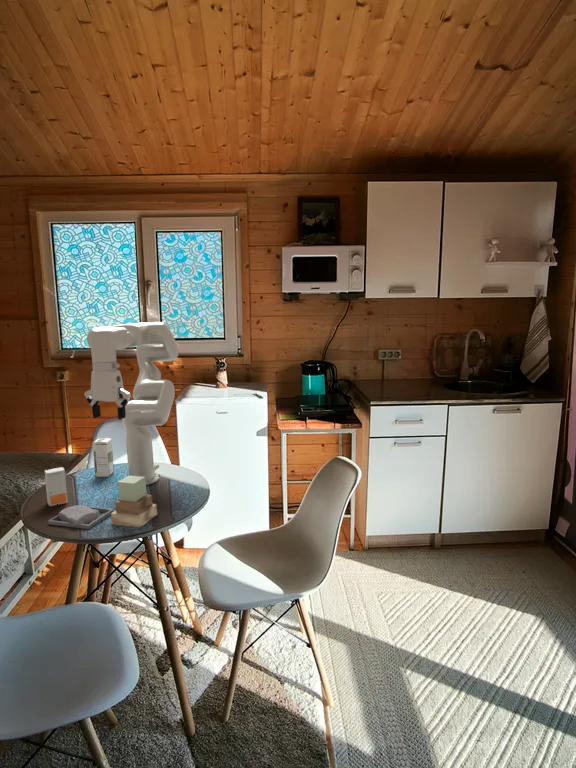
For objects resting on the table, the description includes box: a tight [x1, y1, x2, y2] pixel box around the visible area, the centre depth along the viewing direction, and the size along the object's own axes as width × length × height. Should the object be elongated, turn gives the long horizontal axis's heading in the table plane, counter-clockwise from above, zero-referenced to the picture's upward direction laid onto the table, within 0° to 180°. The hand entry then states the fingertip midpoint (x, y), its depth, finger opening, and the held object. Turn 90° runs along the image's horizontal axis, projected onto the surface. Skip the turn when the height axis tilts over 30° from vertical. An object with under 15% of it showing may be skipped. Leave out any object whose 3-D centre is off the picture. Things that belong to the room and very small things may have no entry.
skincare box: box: [44, 466, 69, 507], centre depth 176 cm, size 6×4×12 cm
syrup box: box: [92, 437, 115, 478], centre depth 204 cm, size 6×6×14 cm
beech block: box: [110, 503, 158, 528], centre depth 162 cm, size 10×10×4 cm
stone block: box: [58, 504, 100, 528], centre depth 164 cm, size 12×5×10 cm
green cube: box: [117, 474, 148, 502], centre depth 161 cm, size 6×6×6 cm
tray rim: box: [47, 504, 115, 530], centre depth 164 cm, size 12×15×1 cm
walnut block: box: [114, 494, 153, 515], centre depth 161 cm, size 8×8×4 cm
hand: (109, 417), depth 170 cm, fingers open, 9 cm apart
